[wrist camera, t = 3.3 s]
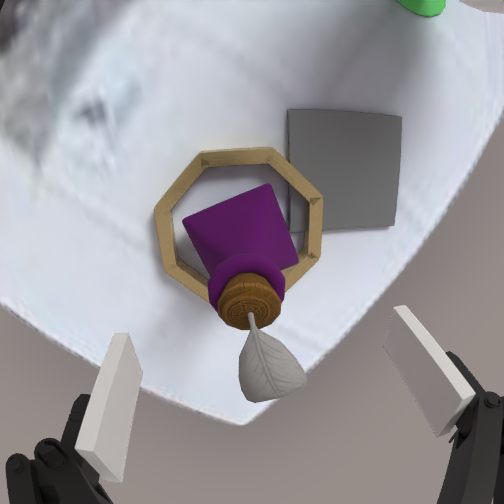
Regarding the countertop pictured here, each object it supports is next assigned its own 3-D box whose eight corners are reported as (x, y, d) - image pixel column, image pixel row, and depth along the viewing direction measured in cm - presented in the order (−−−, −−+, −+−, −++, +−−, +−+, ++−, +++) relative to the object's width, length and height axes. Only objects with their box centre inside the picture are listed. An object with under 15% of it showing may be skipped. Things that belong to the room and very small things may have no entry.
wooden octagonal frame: (173, 300, 30) (172, 309, 29) (151, 156, 24) (148, 158, 23) (313, 288, 31) (317, 296, 30) (318, 146, 25) (324, 148, 24)
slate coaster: (289, 229, 28) (290, 232, 28) (287, 109, 24) (289, 109, 23) (391, 223, 29) (394, 225, 29) (398, 116, 25) (401, 116, 24)
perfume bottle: (184, 208, 26) (142, 352, 10) (264, 174, 26) (342, 277, 10) (219, 276, 30) (227, 444, 13) (291, 247, 29) (368, 396, 13)
